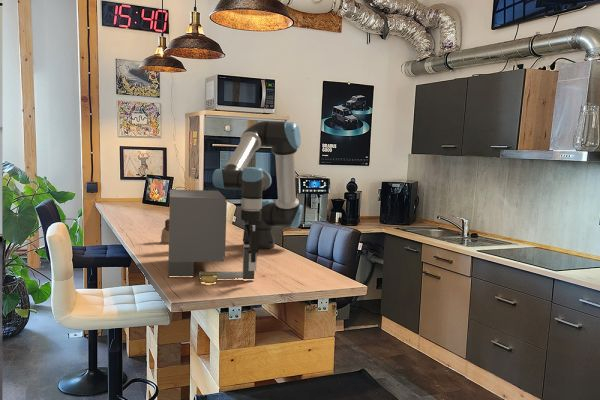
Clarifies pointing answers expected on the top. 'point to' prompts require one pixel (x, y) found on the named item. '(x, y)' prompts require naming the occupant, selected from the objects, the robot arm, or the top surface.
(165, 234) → the figurine
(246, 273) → the grey l-shaped bracket
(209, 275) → the gold bowl
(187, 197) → the cabinet
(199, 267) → the top surface
